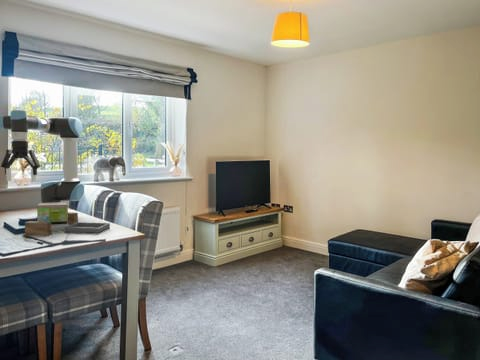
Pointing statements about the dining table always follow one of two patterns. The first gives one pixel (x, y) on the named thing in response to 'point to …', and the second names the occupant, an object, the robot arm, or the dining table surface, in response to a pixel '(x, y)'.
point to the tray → (87, 227)
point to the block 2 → (72, 218)
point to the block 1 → (37, 228)
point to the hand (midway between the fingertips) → (21, 181)
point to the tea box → (53, 214)
